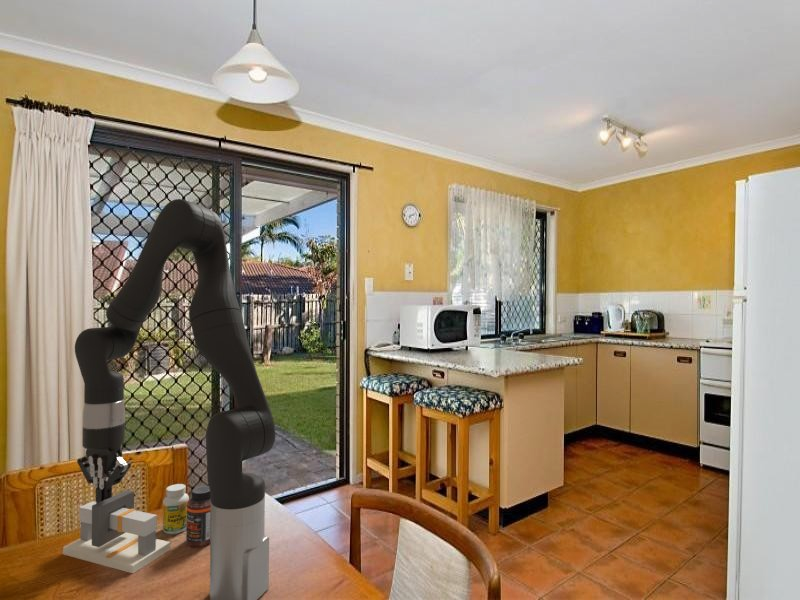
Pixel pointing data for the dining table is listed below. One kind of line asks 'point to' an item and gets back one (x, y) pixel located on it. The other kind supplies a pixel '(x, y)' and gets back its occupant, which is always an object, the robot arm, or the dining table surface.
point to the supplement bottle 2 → (199, 517)
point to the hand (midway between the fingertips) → (103, 504)
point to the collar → (100, 517)
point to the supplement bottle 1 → (175, 509)
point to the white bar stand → (119, 540)
